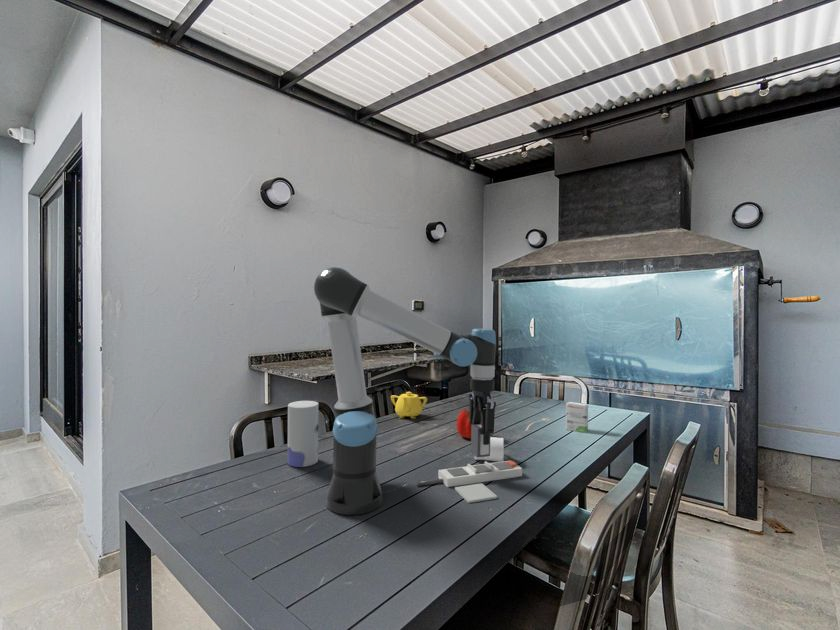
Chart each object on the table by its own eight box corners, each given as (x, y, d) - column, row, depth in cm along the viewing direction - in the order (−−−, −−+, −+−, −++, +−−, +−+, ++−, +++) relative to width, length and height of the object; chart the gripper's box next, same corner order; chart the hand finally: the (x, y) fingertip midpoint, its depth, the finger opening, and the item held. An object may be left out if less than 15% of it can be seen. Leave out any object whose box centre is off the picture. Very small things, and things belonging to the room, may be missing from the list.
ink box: (588, 430, 184) (588, 403, 184) (585, 433, 180) (586, 405, 180) (568, 426, 189) (568, 401, 189) (565, 429, 185) (565, 403, 185)
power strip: (420, 491, 121) (420, 478, 121) (412, 481, 128) (412, 469, 128) (522, 476, 133) (522, 464, 133) (510, 467, 140) (510, 457, 140)
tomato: (495, 438, 170) (495, 413, 170) (470, 444, 163) (471, 417, 163) (473, 430, 182) (473, 406, 181) (449, 435, 174) (449, 410, 174)
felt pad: (468, 503, 115) (468, 500, 115) (454, 489, 123) (454, 487, 123) (497, 498, 118) (497, 496, 118) (481, 485, 126) (481, 483, 126)
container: (323, 461, 143) (324, 403, 142) (297, 470, 135) (298, 408, 135) (307, 454, 150) (308, 398, 149) (281, 461, 142) (282, 403, 142)
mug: (503, 465, 142) (503, 442, 142) (473, 462, 144) (474, 440, 144) (503, 453, 154) (503, 431, 154) (476, 451, 156) (476, 429, 156)
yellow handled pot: (387, 415, 203) (387, 391, 203) (411, 411, 212) (411, 388, 212) (403, 422, 192) (404, 396, 192) (428, 417, 201) (428, 393, 201)
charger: (477, 457, 129) (478, 428, 129) (470, 452, 133) (471, 424, 133) (489, 456, 131) (490, 427, 130) (483, 451, 135) (483, 423, 135)
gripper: (507, 382, 124) (505, 460, 125) (479, 372, 141) (477, 441, 141) (485, 383, 122) (483, 462, 122) (459, 373, 138) (457, 443, 139)
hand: (480, 451), depth 132 cm, fingers closed on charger, 4 cm apart
